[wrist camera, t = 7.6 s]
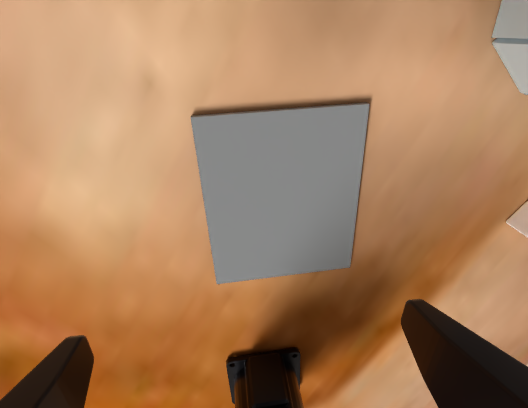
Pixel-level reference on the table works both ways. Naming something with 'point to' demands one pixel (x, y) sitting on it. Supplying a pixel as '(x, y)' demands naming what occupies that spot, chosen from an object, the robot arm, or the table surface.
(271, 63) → the table surface
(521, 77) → the bowl
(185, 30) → the table surface
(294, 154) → the mat
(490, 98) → the table surface
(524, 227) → the milk
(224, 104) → the table surface
